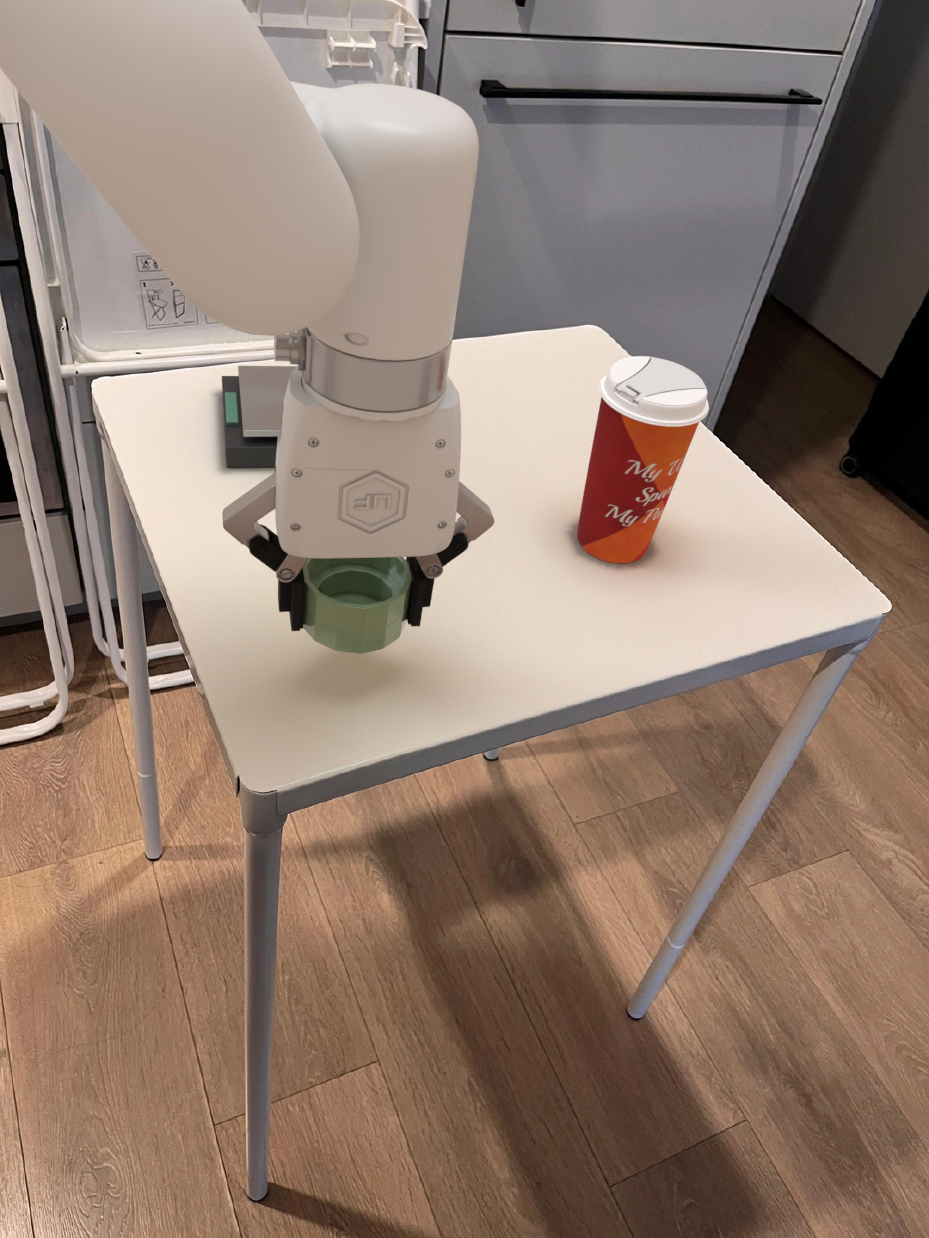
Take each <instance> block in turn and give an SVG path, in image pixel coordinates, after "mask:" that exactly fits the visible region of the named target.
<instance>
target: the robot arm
mask: <svg viewBox="0 0 929 1238" xmlns="http://www.w3.org/2000/svg"><path fill="white" fill-rule="evenodd" d="M0 70H1V71H2V72H3V74H4V76H6V77H7V79H8V80H9V81H10V83H11V84H12V85H13V87H15V89H16V90H17V92H18V93H19V94H20V95H21V97H22V98H23V99H24V101H25V102H26V103H27V104H28V106H29V107H30V108H31V110H32V111H33V112H34V114H35V115H36V116H37V117H38V119H39V120H40V121H41V122H42V124H43V125H44V127H45V128H46V129H47V130H48V131H49V133H50V134H51V135H52V136H53V138H54V139H55V140H56V142H57V143H58V144H59V145H60V147H61V148H62V149H63V151H64V152H65V154H67V155H68V157H69V158H70V159H71V161H72V162H73V163H74V164H75V166H76V167H77V168H78V169H79V171H80V172H81V173H82V174H83V175H84V177H85V178H86V179H87V181H88V182H89V183H90V184H91V185H92V187H93V188H94V189H95V190H96V191H97V193H98V194H99V195H100V196H101V198H102V199H103V200H104V202H105V203H106V204H107V206H109V207H110V208H111V210H112V211H113V212H114V213H115V214H116V216H117V217H118V218H119V219H120V220H121V222H122V223H123V224H124V225H125V227H126V228H127V229H128V230H129V232H131V234H132V235H133V236H134V237H135V239H136V240H137V241H138V242H139V243H140V245H141V246H142V247H143V249H144V250H145V251H146V252H147V253H148V255H149V256H150V257H151V258H152V259H153V261H154V262H155V263H156V265H158V267H159V268H160V269H161V270H162V271H163V273H164V274H165V275H166V276H167V278H168V279H169V280H170V281H171V282H172V284H173V285H174V286H175V287H176V288H177V289H178V291H180V293H181V294H182V295H183V296H184V297H185V298H186V299H187V300H188V302H190V303H191V304H192V305H193V306H194V307H195V308H196V309H197V310H199V311H200V312H201V313H203V314H204V315H206V316H207V317H209V318H210V319H212V320H213V321H215V322H216V323H218V324H220V325H223V326H225V327H227V328H229V329H231V330H233V331H237V332H241V333H245V334H249V335H254V336H268V337H270V336H273V354H274V357H273V358H274V362H288V363H289V365H296V367H295V368H294V369H293V371H292V372H291V375H290V379H289V382H288V385H287V389H286V394H285V398H284V402H283V407H282V413H281V419H280V425H279V433H278V441H277V451H276V463H275V467H274V472H273V473H271V474H270V475H269V476H267V477H266V478H264V479H263V480H261V481H260V482H259V483H257V484H256V485H254V486H253V487H251V488H250V489H249V490H248V491H246V492H245V493H244V494H242V495H241V496H239V497H238V498H237V499H235V500H233V501H232V502H231V503H229V504H228V505H226V506H225V507H224V508H223V509H222V512H221V514H222V527H223V529H224V530H225V531H226V532H227V533H228V534H229V535H231V536H232V537H233V538H234V539H235V540H236V541H237V542H239V543H240V544H241V545H242V546H245V547H246V548H248V551H249V553H250V554H251V555H252V556H253V557H254V558H255V559H257V560H258V561H259V562H261V563H262V564H263V565H265V566H266V567H268V568H269V569H270V570H272V571H273V572H275V577H276V579H277V605H278V612H279V613H289V621H290V629H291V630H290V631H291V632H300V631H301V630H304V628H303V621H304V598H305V581H304V574H303V566H304V565H305V563H306V562H307V560H308V559H309V558H317V559H324V558H381V557H403V558H405V560H406V561H407V562H408V563H409V567H410V570H411V574H412V586H411V593H410V600H409V607H408V614H407V621H406V623H407V625H410V626H411V627H421V621H422V615H423V608H430V607H431V603H432V596H433V591H434V584H435V579H438V578H439V577H440V576H441V575H442V574H443V572H444V567H445V566H446V565H448V563H450V562H452V561H453V560H455V559H456V558H457V557H459V556H460V555H461V554H463V553H464V552H466V551H467V550H468V548H469V544H470V543H471V542H475V541H476V540H478V538H479V537H481V536H482V535H483V534H485V533H486V532H487V531H488V530H489V529H491V528H492V527H493V526H494V524H495V518H494V516H493V512H492V509H491V507H490V506H489V505H488V504H487V503H486V502H484V500H483V499H481V498H480V497H479V496H478V495H477V494H475V492H473V491H472V490H471V489H470V488H469V487H467V486H466V485H465V484H464V483H462V481H460V474H461V473H460V472H461V455H462V454H461V453H462V410H461V409H462V408H461V399H460V393H459V391H458V390H457V388H456V386H455V384H454V383H453V380H452V379H451V378H450V377H449V376H448V375H449V374H448V372H449V367H450V366H449V365H450V359H451V353H452V346H453V339H454V338H453V337H454V331H455V324H456V317H457V311H458V304H459V298H460V289H461V284H462V277H463V270H464V263H465V255H466V248H467V243H468V242H467V241H468V234H469V229H470V220H471V214H472V207H473V199H474V192H475V186H476V179H477V172H478V166H479V165H478V164H479V153H480V141H479V134H478V131H477V128H476V125H475V123H474V121H473V119H472V118H471V116H470V115H469V114H468V113H467V112H466V111H465V109H464V108H463V107H461V106H460V105H458V104H456V103H455V102H453V101H451V100H449V99H447V98H445V97H443V96H441V95H438V94H435V93H432V92H429V91H427V90H423V89H420V88H414V87H409V86H404V85H403V86H402V85H396V84H387V83H371V82H369V83H357V84H356V83H355V84H350V85H343V86H341V87H325V86H319V85H313V84H308V83H302V82H297V81H291V80H290V79H289V78H288V76H287V74H286V73H285V71H284V69H283V68H282V65H281V63H280V62H279V60H278V59H277V56H276V55H275V54H274V52H273V49H272V47H270V45H269V43H268V42H267V39H266V38H265V37H264V35H263V34H262V32H261V30H260V28H259V27H258V25H257V23H256V22H255V20H254V19H253V17H252V15H251V13H250V12H249V10H248V9H247V6H246V5H245V4H244V1H243V0H0ZM272 511H274V513H275V514H274V515H275V527H276V533H275V532H274V531H272V530H271V529H270V528H268V527H267V526H266V525H265V524H261V523H259V520H261V519H263V518H264V517H265V516H267V515H268V514H269V513H271V512H272ZM457 514H458V515H459V517H458V518H457ZM456 518H457V519H456ZM456 520H457V521H456Z"/></svg>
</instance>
